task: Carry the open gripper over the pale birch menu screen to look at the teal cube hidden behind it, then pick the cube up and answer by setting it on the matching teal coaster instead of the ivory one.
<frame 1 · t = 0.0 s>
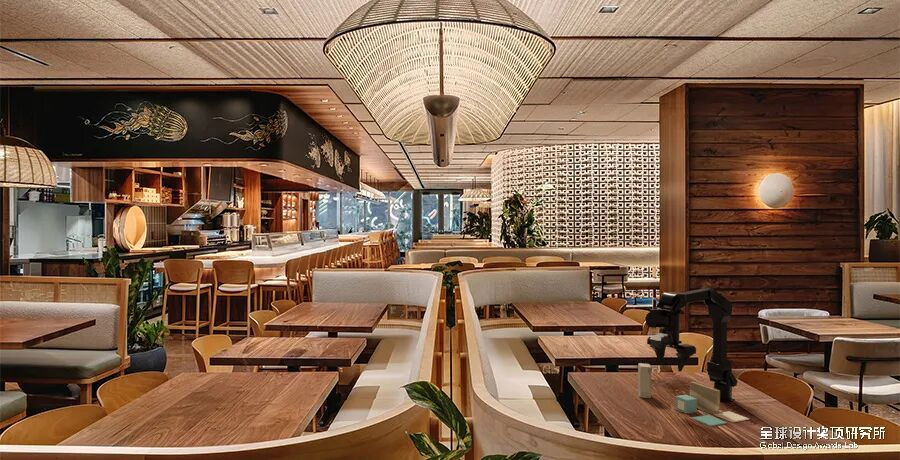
hand: (670, 368, 206), 15 cm above the table, tool pointing down, fingers open, 9 cm apart
skincare box: (644, 396, 220), on the table
ivory coaster: (731, 417, 197), on the table
teal coaster: (708, 421, 193), on the table
screen: (703, 408, 206), on the table
cube: (685, 410, 203), on the table
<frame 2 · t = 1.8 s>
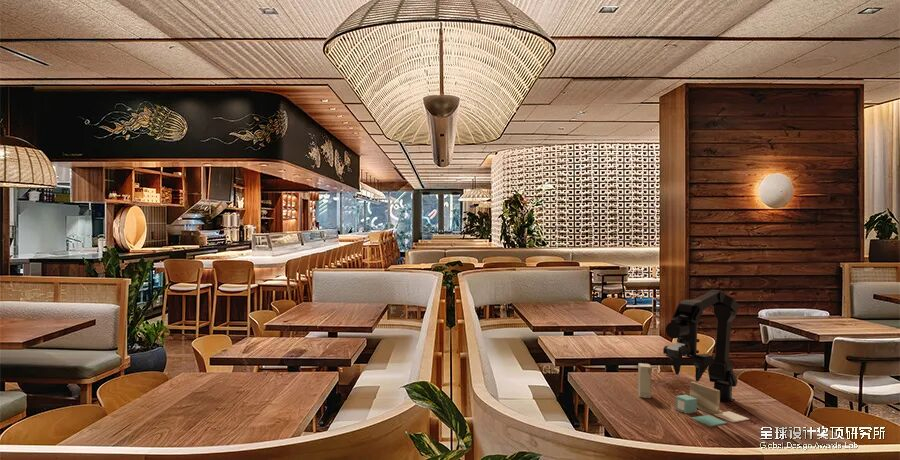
hand: (687, 378, 203), 12 cm above the table, tool pointing down, fingers open, 9 cm apart
nothing on the table moved.
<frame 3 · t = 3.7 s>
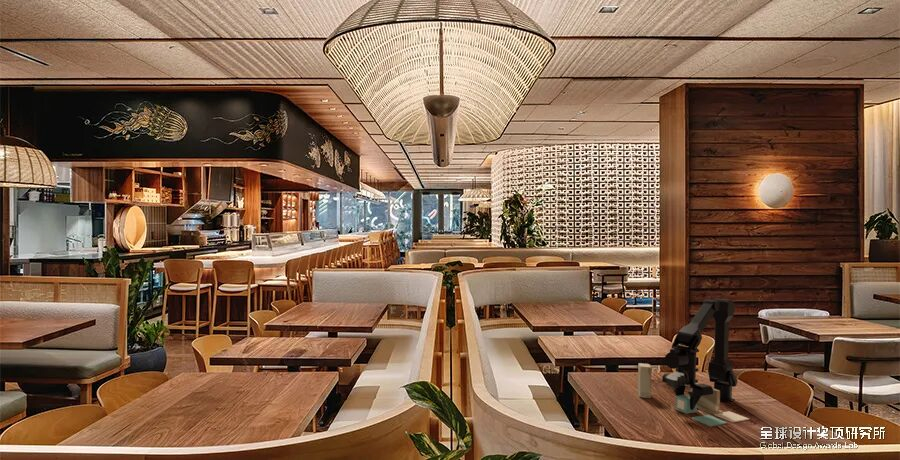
hand: (686, 407, 203), 1 cm above the table, tool pointing down, fingers closed on cube, 5 cm apart
cube: (685, 410, 203), on the table, touching gripper
everything else where it was.
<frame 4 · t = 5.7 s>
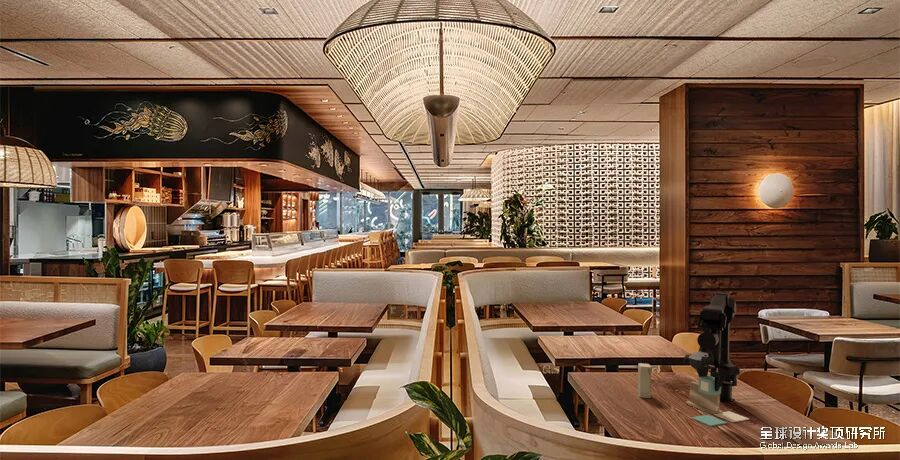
hand: (709, 388, 193), 11 cm above the table, tool pointing down, fingers closed on cube, 5 cm apart
cube: (709, 392, 193), point 10 cm above the table, touching gripper
everything else where it was.
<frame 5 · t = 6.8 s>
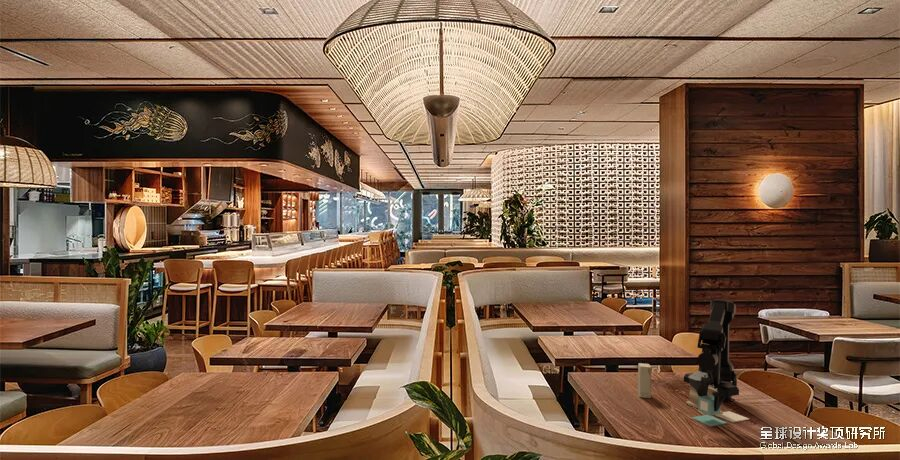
hand: (709, 408, 193), 4 cm above the table, tool pointing down, fingers closed on cube, 5 cm apart
cube: (709, 412, 193), point 3 cm above the table, touching gripper
everything else where it was.
when the fingers open (2 cm above the table, at t = 7.6 s): cube stays where it is, resting on teal coaster.
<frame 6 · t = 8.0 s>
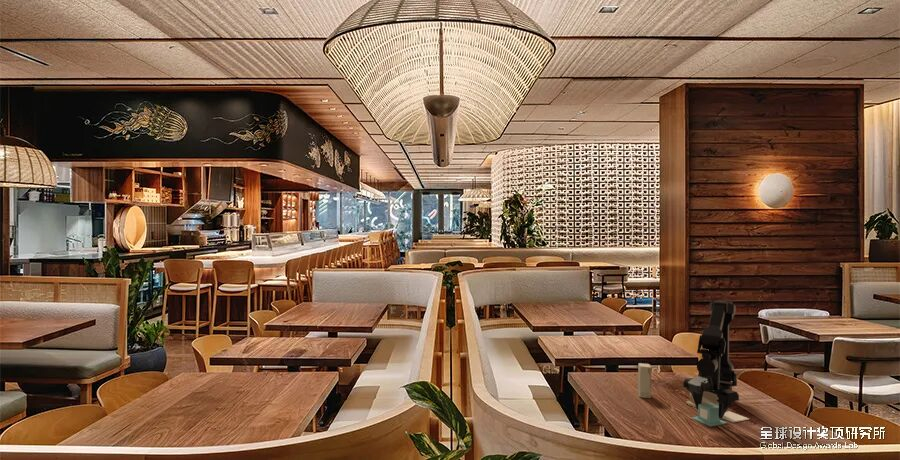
hand: (709, 413, 193), 2 cm above the table, tool pointing down, fingers open, 9 cm apart
cube: (708, 419, 193), resting on teal coaster
everything else where it was.
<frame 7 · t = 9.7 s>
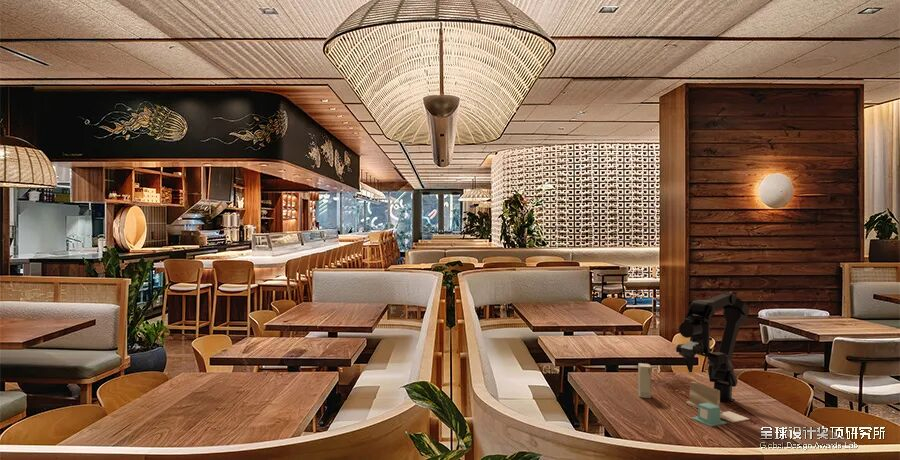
hand: (700, 375, 208), 12 cm above the table, tool pointing down, fingers open, 9 cm apart
nothing on the table moved.
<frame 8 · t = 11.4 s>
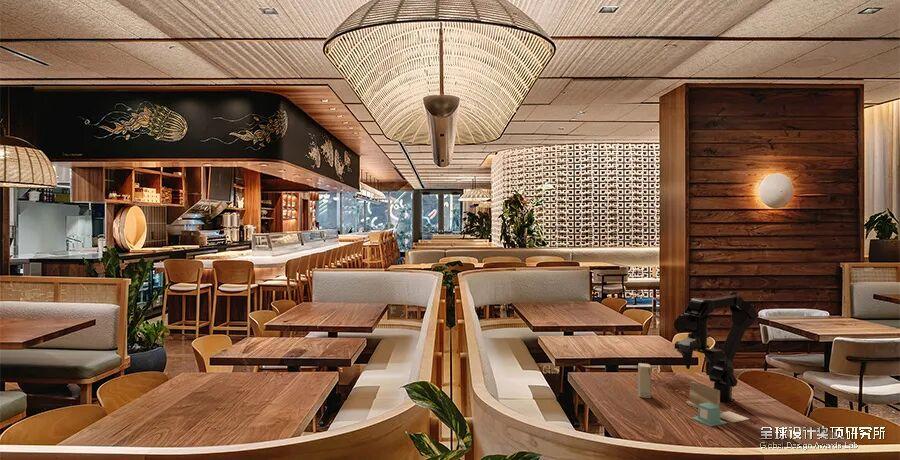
hand: (697, 371, 212), 12 cm above the table, tool pointing down, fingers open, 9 cm apart
nothing on the table moved.
at the end: cube 0.0 cm off-centre on the teal coaster, point 0.4 cm above the teal coaster's base; cube tilted 0°; the gripper is holding nothing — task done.
